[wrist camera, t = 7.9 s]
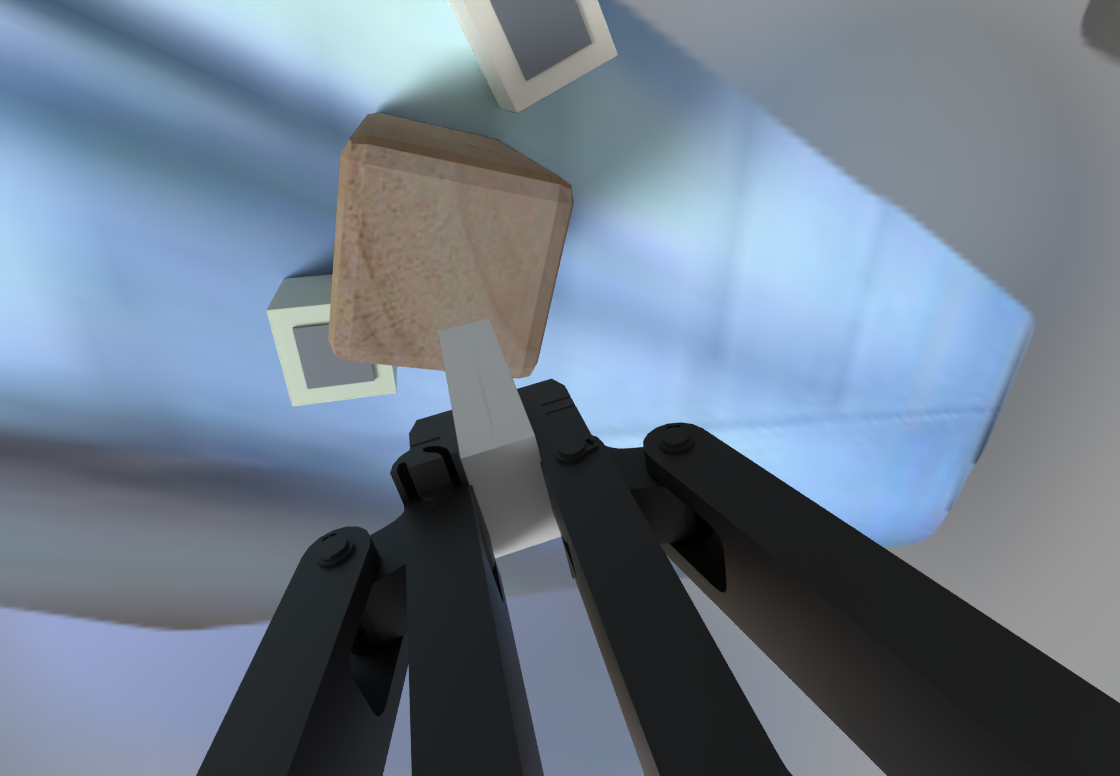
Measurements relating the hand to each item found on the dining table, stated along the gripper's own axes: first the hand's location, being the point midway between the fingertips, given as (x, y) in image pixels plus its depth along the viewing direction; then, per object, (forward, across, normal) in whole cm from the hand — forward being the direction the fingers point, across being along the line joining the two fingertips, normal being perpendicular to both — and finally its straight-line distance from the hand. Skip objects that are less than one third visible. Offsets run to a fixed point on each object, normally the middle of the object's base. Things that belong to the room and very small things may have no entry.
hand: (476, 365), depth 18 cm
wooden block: (+30, 0, 0) cm, 30 cm away
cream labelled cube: (+30, +9, +9) cm, 32 cm away
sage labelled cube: (+30, -9, -7) cm, 32 cm away
